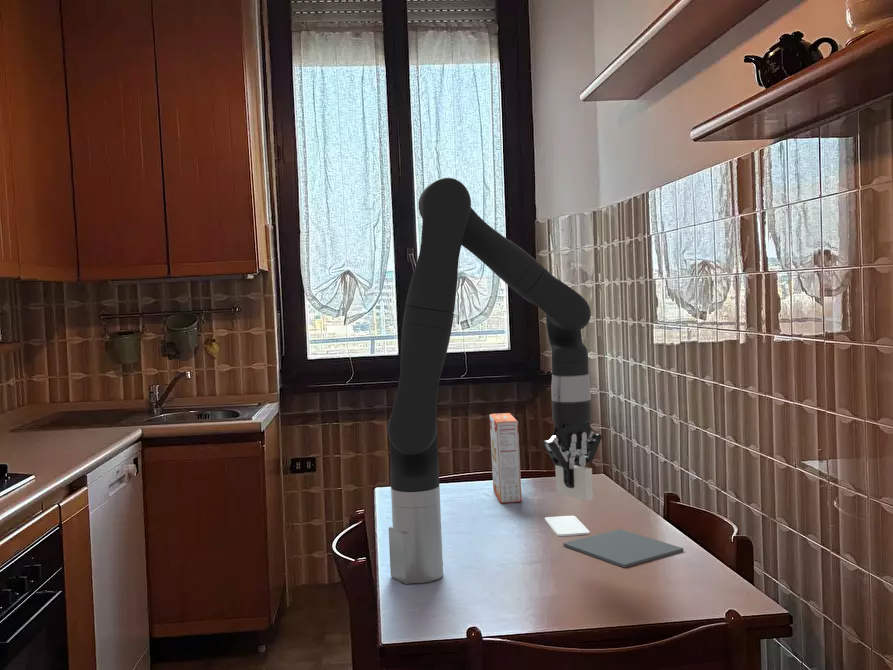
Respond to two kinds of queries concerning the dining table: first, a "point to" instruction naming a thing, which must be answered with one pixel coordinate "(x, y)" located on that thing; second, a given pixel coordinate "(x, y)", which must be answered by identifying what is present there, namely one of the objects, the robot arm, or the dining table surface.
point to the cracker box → (505, 457)
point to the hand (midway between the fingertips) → (574, 486)
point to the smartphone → (567, 526)
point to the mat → (623, 547)
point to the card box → (576, 483)
